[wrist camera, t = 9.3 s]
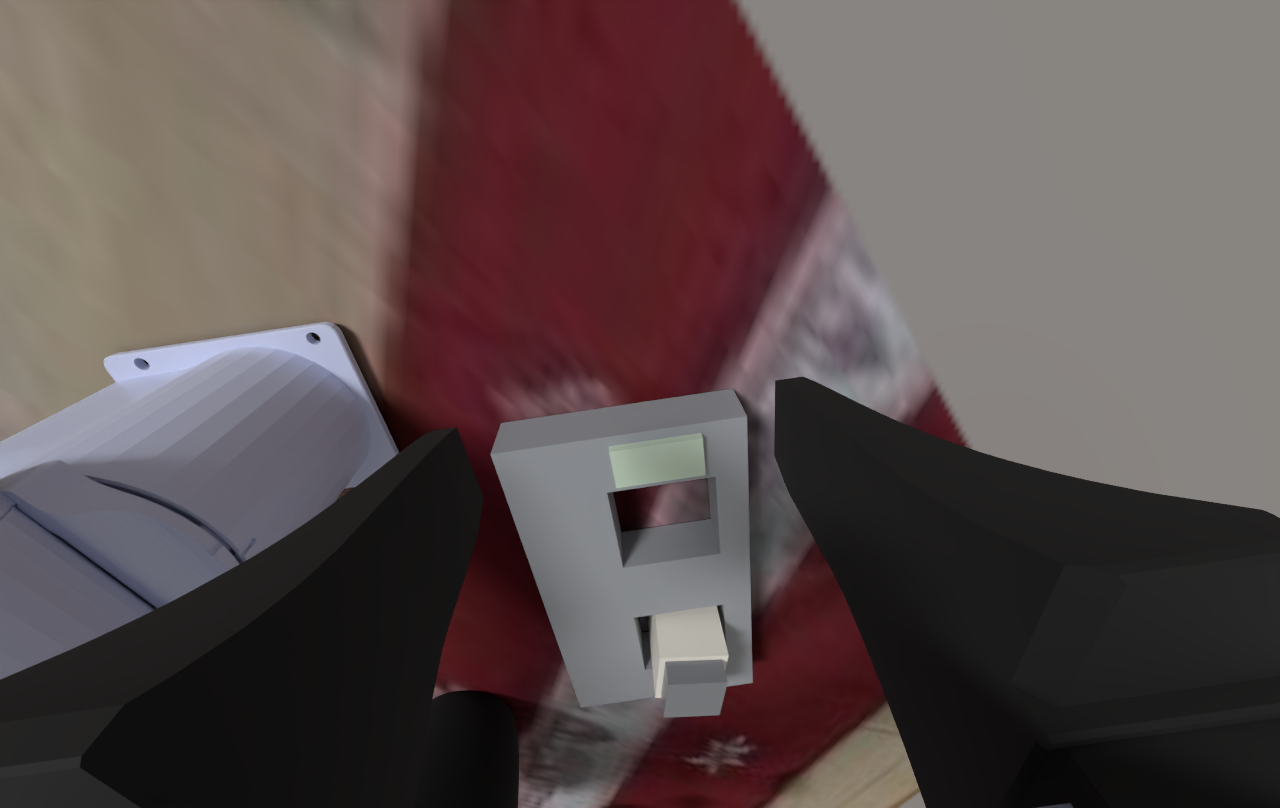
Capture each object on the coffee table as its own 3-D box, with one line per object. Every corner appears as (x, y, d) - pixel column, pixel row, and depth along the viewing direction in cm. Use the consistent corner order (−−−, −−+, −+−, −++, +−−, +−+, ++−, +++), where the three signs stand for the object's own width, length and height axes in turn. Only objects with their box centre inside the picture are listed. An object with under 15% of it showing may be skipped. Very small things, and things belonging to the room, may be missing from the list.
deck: (582, 669, 32) (580, 714, 30) (501, 423, 22) (488, 460, 20) (742, 645, 32) (754, 689, 30) (733, 388, 22) (749, 421, 20)
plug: (648, 620, 30) (657, 721, 25) (651, 581, 29) (662, 681, 23) (703, 618, 31) (724, 717, 26) (710, 580, 29) (734, 678, 24)
